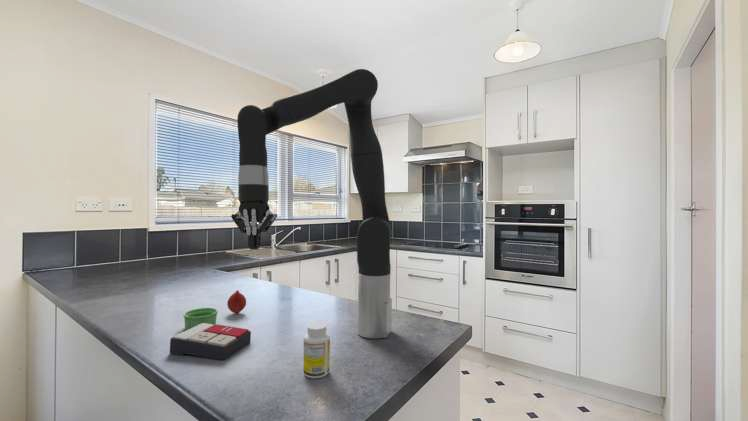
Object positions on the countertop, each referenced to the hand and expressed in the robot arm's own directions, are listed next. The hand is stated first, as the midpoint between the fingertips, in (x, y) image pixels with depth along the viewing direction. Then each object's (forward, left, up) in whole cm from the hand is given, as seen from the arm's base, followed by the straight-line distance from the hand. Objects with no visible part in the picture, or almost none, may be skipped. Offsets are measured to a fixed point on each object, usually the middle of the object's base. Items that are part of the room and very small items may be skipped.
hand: (254, 249), depth 86 cm
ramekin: (+21, -4, -25) cm, 33 cm away
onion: (+19, -17, -25) cm, 36 cm away
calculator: (-1, +6, -23) cm, 24 cm away
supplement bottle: (-24, +10, -25) cm, 35 cm away
